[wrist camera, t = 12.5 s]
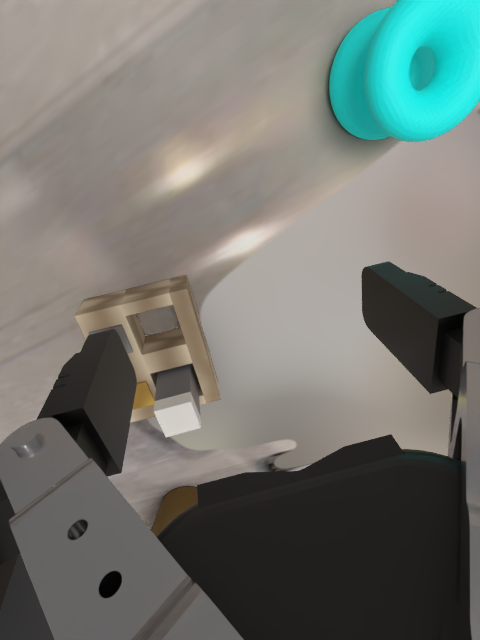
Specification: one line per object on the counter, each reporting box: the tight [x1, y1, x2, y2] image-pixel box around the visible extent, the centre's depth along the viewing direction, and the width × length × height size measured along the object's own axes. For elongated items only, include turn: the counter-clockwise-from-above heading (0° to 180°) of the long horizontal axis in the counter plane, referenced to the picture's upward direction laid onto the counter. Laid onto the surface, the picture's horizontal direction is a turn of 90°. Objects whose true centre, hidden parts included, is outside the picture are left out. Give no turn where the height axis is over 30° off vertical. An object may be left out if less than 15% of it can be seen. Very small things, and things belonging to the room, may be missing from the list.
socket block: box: [75, 275, 220, 423], centre depth 41 cm, size 12×16×4 cm
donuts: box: [329, 0, 480, 142], centre depth 29 cm, size 10×10×10 cm
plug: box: [154, 363, 201, 437], centre depth 41 cm, size 4×4×10 cm
